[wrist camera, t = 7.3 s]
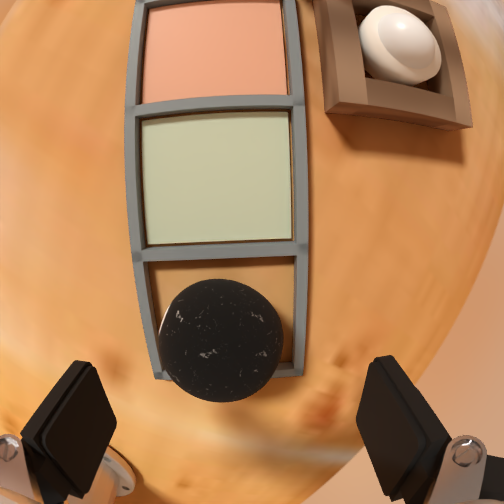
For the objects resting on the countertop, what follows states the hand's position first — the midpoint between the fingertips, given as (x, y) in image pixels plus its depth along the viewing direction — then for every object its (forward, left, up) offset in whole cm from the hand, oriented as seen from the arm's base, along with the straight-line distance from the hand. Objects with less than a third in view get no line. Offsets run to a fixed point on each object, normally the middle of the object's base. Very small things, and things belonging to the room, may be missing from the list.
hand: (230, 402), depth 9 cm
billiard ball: (-1, +1, -9) cm, 8 cm away
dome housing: (+15, -10, -8) cm, 20 cm away
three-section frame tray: (+7, +1, -8) cm, 11 cm away
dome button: (+15, -10, -8) cm, 20 cm away
